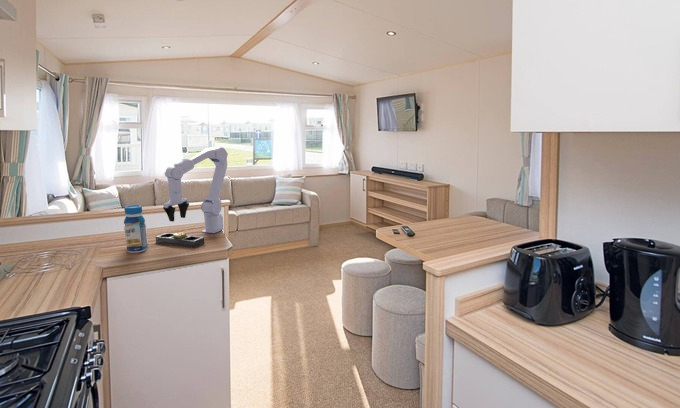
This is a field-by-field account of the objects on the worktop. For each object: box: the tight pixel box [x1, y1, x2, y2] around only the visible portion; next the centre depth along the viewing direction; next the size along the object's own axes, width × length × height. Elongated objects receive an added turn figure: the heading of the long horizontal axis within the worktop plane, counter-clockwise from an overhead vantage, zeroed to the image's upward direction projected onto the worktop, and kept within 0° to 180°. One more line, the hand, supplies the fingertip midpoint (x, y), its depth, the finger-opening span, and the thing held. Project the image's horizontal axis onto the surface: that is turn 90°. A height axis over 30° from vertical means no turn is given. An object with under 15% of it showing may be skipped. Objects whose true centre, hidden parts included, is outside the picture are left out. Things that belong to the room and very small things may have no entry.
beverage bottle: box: [123, 204, 148, 254], centre depth 170 cm, size 8×8×20 cm
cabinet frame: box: [155, 232, 205, 249], centre depth 183 cm, size 7×22×3 cm, turn 71°
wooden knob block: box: [173, 231, 187, 239], centre depth 183 cm, size 4×4×4 cm
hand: (177, 219), depth 188 cm, fingers open, 7 cm apart
